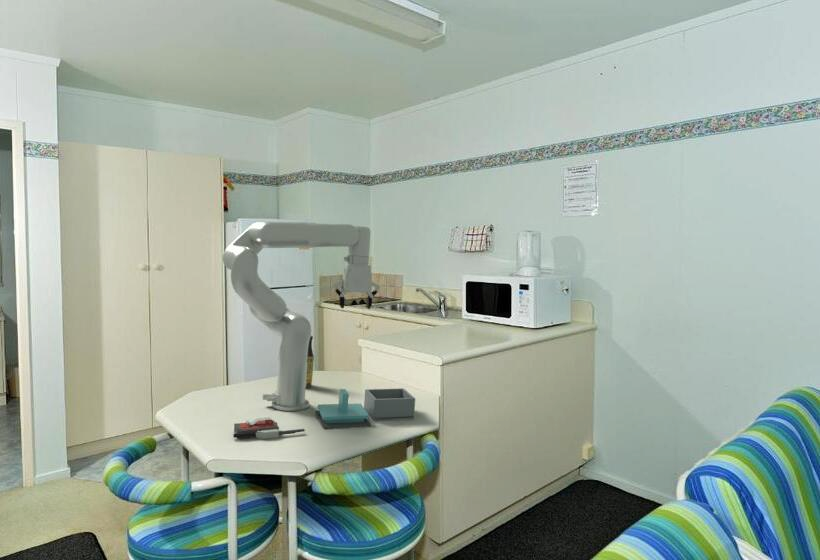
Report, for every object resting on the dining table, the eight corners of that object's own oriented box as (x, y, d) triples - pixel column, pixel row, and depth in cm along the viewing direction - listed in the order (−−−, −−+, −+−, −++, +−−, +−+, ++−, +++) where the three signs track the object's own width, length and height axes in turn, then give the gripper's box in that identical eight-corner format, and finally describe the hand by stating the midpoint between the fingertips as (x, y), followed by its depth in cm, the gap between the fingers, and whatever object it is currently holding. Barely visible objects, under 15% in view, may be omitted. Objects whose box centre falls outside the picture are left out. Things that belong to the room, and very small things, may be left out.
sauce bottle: (302, 389, 204) (305, 337, 203) (291, 385, 208) (294, 334, 207) (315, 386, 210) (318, 335, 208) (304, 382, 213) (307, 333, 212)
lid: (322, 424, 165) (324, 397, 165) (317, 411, 177) (318, 386, 176) (368, 423, 170) (370, 396, 169) (360, 410, 181) (361, 385, 181)
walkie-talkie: (234, 444, 148) (305, 436, 158) (235, 428, 148) (306, 421, 157) (229, 433, 156) (296, 426, 165) (230, 418, 156) (297, 412, 165)
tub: (373, 421, 174) (374, 399, 173) (363, 409, 185) (365, 389, 185) (413, 419, 178) (415, 398, 178) (402, 407, 190) (403, 388, 189)
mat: (323, 429, 163) (323, 427, 163) (314, 412, 178) (315, 410, 178) (371, 426, 168) (371, 424, 168) (358, 410, 183) (359, 408, 183)
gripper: (336, 260, 187) (333, 309, 188) (384, 262, 192) (381, 310, 194) (332, 259, 194) (329, 306, 195) (378, 261, 200) (375, 307, 201)
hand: (355, 308), depth 194 cm, fingers open, 9 cm apart
